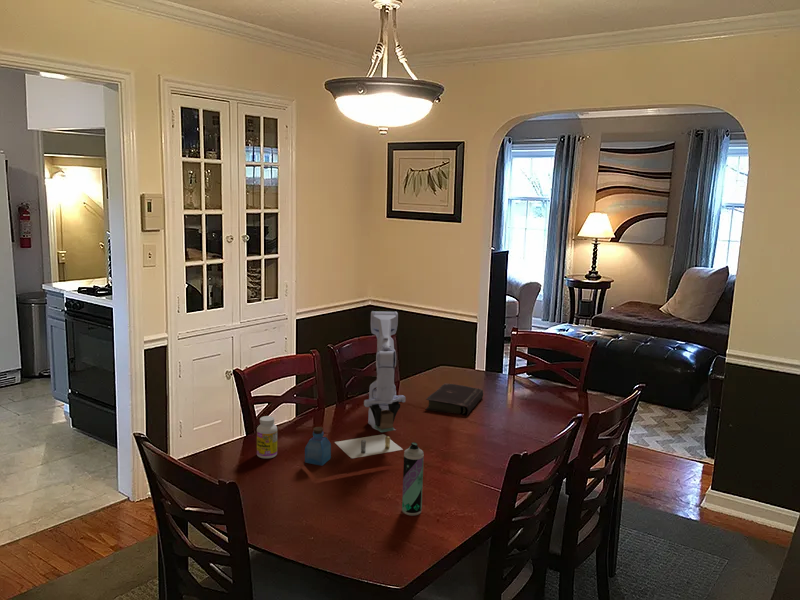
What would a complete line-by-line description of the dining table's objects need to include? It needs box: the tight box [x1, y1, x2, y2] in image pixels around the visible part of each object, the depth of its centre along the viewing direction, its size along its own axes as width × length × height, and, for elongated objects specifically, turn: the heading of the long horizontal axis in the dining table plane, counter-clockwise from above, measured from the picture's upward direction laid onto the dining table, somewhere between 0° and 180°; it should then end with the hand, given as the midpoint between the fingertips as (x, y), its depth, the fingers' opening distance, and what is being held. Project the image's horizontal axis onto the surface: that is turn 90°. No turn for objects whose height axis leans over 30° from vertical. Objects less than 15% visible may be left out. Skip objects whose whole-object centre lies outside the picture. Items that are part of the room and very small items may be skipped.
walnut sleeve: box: [375, 409, 395, 433], centre depth 228 cm, size 5×5×6 cm
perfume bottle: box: [304, 426, 332, 466], centre depth 218 cm, size 6×6×12 cm
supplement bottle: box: [256, 415, 278, 459], centre depth 223 cm, size 7×7×13 cm
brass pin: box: [385, 435, 391, 449], centre depth 230 cm, size 2×2×4 cm
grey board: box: [334, 433, 404, 459], centre depth 232 cm, size 15×19×1 cm
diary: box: [425, 383, 484, 417], centre depth 282 cm, size 19×25×5 cm
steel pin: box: [361, 440, 366, 453], centre depth 226 cm, size 2×2×4 cm
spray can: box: [401, 442, 425, 516], centre depth 188 cm, size 6×6×20 cm
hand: (384, 424), depth 229 cm, fingers closed on walnut sleeve, 4 cm apart
